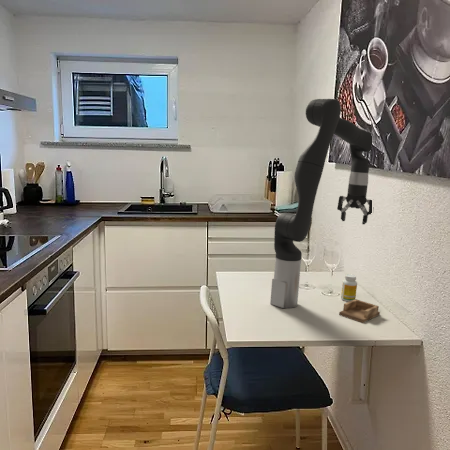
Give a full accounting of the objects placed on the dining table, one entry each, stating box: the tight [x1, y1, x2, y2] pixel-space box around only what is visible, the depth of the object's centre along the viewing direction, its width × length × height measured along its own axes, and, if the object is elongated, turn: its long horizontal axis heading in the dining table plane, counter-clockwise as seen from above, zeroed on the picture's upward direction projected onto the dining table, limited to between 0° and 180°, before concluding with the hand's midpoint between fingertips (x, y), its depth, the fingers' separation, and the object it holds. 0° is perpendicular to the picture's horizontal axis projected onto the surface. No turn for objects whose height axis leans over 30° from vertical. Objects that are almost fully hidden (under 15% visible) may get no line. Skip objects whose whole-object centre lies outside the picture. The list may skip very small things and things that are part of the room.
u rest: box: [338, 298, 381, 324], centre depth 165 cm, size 12×9×4 cm
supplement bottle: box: [340, 273, 358, 303], centre depth 179 cm, size 5×5×10 cm
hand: (353, 222), depth 195 cm, fingers open, 8 cm apart
